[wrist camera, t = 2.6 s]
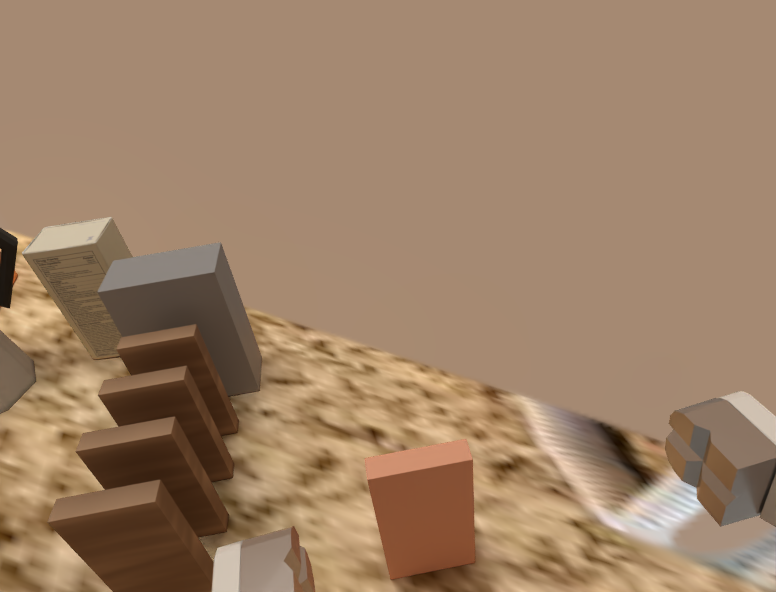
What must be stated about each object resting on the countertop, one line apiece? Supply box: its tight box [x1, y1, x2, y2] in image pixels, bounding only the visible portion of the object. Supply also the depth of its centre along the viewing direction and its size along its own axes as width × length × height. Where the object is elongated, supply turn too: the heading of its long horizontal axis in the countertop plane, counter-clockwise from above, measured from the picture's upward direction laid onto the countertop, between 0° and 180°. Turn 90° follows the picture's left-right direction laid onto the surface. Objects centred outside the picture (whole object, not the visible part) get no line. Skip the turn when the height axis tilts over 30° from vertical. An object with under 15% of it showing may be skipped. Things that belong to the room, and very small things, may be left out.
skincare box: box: [22, 217, 132, 359], centre depth 47 cm, size 6×4×12 cm
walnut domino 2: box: [98, 366, 234, 482], centre depth 35 cm, size 1×5×10 cm, turn 98°
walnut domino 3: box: [76, 416, 229, 537], centre depth 31 cm, size 1×5×10 cm, turn 98°
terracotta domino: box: [365, 439, 475, 580], centre depth 28 cm, size 1×5×10 cm, turn 98°
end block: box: [97, 243, 262, 396], centre depth 41 cm, size 8×4×12 cm, turn 98°
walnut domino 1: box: [116, 324, 239, 436], centre depth 38 cm, size 1×5×10 cm, turn 98°
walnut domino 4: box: [48, 480, 214, 592], centre depth 28 cm, size 1×5×10 cm, turn 98°
